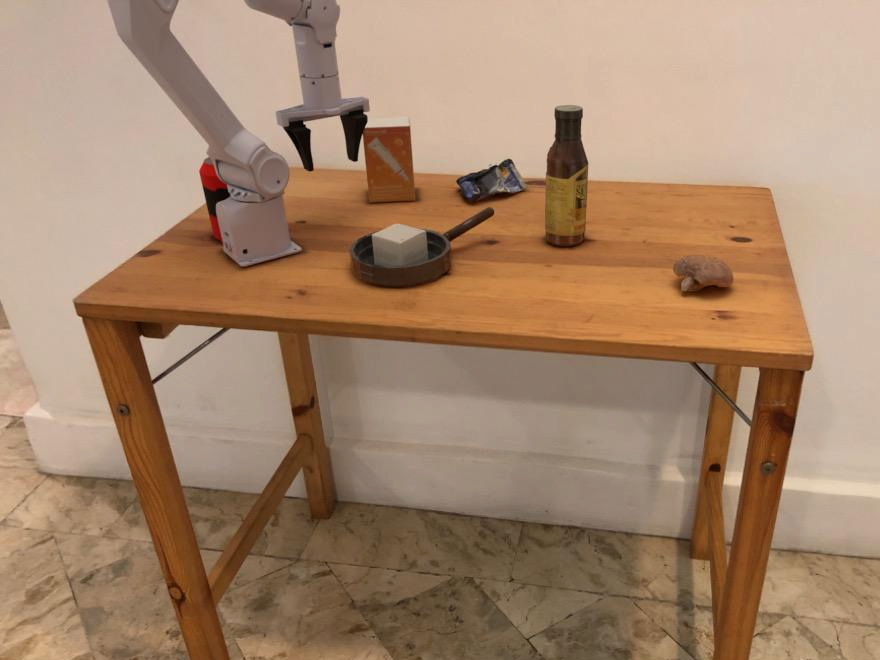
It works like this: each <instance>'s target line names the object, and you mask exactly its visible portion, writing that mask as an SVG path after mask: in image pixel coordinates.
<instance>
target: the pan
mask: <svg viewBox="0 0 880 660" xmlns="http://www.w3.org/2000/svg"><path fill="white" fill-rule="evenodd" d="M416 228H417V227H416ZM417 229H419V228H417ZM420 229H421V230H425V231H426V237H427V251H428V261H425V262H422V263H418V264H411V265H405V266H384V265H375V262H374V252H373V242H372V234H374V233H376V232H379V231H380V230H378V231H374V232H370V233H368V234H366V235H363V236H361V237H359V238H357V239H356V240H355V241H354V242H353V243H352V244H351V246H350V248H349V258H350V267H351V270H352V273H353V275H355V276H356V277H357V278H358V279H360V280H362V281H364V282H366V283H368V284H370V285H374V286H378V287H384V288H385V287H386V288H404V287H405V288H407V287H413V286H420V285H423V284H426V283H429V282H432V281H434V280H437V279H438V278H440V277H441V276H442V275H444V274H445V273H446V272H447V271H448V270H449V269H450V268H451V266H452V248H451V247H452V246H451V242H449V240H448V239H447V238H446V237H445V236H443V234H441V233H440V232H437V231H434V230H430V229H426V228H420Z"/></svg>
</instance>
